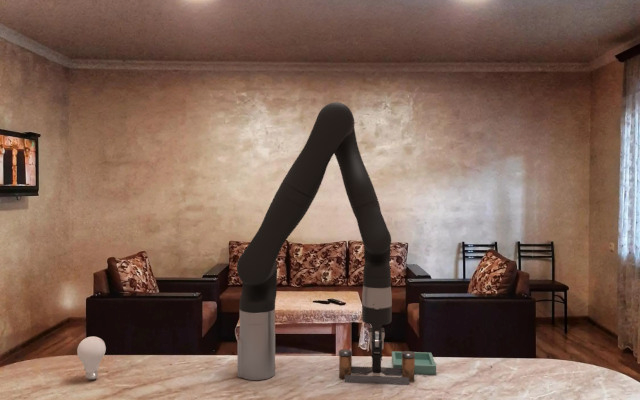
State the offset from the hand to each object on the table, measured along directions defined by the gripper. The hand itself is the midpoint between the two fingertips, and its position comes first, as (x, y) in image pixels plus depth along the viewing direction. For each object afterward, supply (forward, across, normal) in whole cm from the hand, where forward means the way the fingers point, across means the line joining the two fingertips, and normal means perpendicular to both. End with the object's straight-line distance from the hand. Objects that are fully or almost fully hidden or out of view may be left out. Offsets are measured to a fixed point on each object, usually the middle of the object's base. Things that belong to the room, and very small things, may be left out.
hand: (376, 370), depth 133 cm
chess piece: (+2, 0, 0) cm, 2 cm away
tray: (+2, -10, +10) cm, 14 cm away
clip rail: (+2, 0, 0) cm, 2 cm away
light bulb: (+2, +8, -72) cm, 72 cm away
